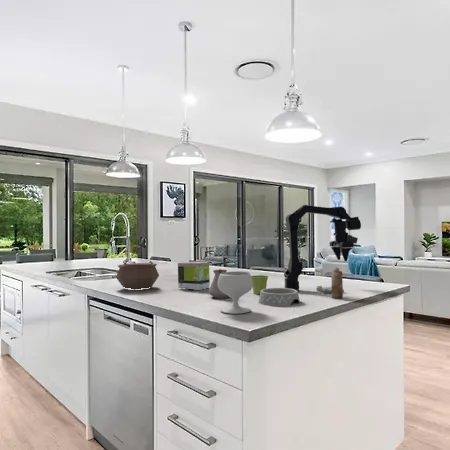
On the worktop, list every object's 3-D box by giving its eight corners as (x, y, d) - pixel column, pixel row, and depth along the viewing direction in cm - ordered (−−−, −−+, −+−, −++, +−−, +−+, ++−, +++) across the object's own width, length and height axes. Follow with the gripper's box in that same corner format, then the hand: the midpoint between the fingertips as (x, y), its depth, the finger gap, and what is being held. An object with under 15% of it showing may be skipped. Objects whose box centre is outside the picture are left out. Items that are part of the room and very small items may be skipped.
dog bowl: (307, 301, 167) (307, 289, 167) (282, 308, 154) (282, 295, 154) (276, 297, 179) (276, 286, 179) (250, 303, 166) (250, 291, 166)
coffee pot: (209, 295, 187) (208, 265, 188) (232, 294, 187) (231, 264, 188) (207, 303, 166) (206, 269, 166) (233, 303, 166) (233, 268, 166)
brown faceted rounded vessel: (106, 290, 211) (106, 260, 211) (139, 284, 231) (138, 257, 231) (136, 293, 197) (135, 262, 198) (168, 287, 217) (167, 258, 217)
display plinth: (324, 293, 185) (324, 288, 185) (316, 290, 194) (316, 285, 194) (343, 292, 186) (343, 287, 186) (334, 289, 196) (334, 284, 196)
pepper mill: (334, 299, 170) (334, 268, 170) (330, 297, 175) (329, 267, 175) (344, 298, 171) (344, 268, 171) (340, 296, 176) (339, 267, 176)
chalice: (260, 311, 148) (260, 273, 148) (232, 317, 140) (231, 276, 140) (239, 306, 159) (238, 270, 159) (211, 310, 151) (210, 273, 151)
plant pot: (246, 293, 190) (245, 276, 190) (257, 291, 196) (257, 274, 197) (261, 295, 183) (260, 277, 183) (272, 293, 190) (272, 275, 190)
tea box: (210, 288, 210) (209, 261, 210) (199, 291, 202) (199, 263, 202) (188, 286, 218) (188, 261, 218) (177, 289, 210) (177, 262, 210)
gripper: (363, 229, 190) (365, 260, 190) (348, 229, 209) (349, 258, 209) (341, 231, 190) (343, 262, 189) (328, 231, 208) (330, 259, 208)
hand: (342, 260), depth 199 cm, fingers open, 9 cm apart
